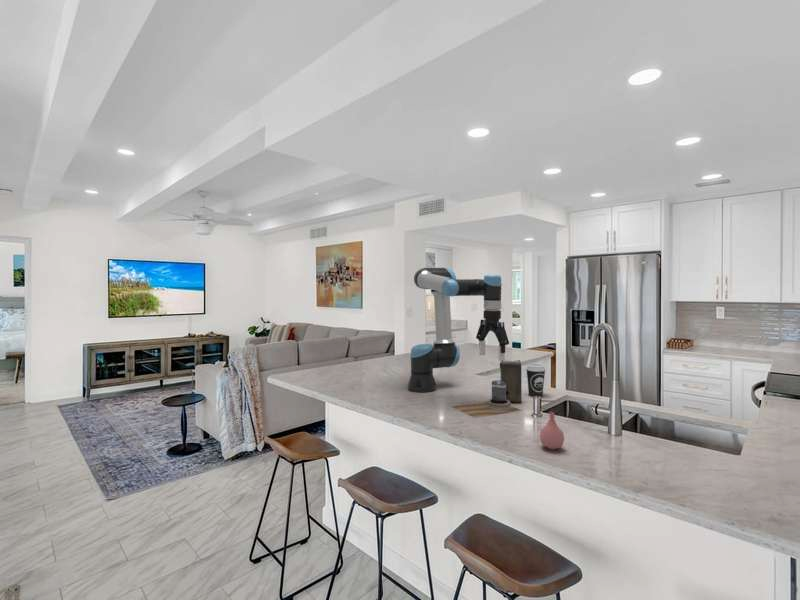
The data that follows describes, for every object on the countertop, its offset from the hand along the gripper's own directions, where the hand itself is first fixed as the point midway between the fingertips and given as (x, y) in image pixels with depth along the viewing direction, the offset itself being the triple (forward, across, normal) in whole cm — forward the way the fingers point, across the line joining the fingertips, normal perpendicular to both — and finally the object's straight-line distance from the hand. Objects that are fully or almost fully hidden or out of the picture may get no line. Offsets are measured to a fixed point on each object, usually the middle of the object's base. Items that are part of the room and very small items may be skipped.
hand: (491, 357), depth 185 cm
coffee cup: (+23, -7, +33) cm, 41 cm away
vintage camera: (+23, -8, +17) cm, 30 cm away
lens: (+21, +5, +1) cm, 21 cm away
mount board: (+22, +4, -5) cm, 23 cm away
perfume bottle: (+22, +47, -11) cm, 53 cm away
